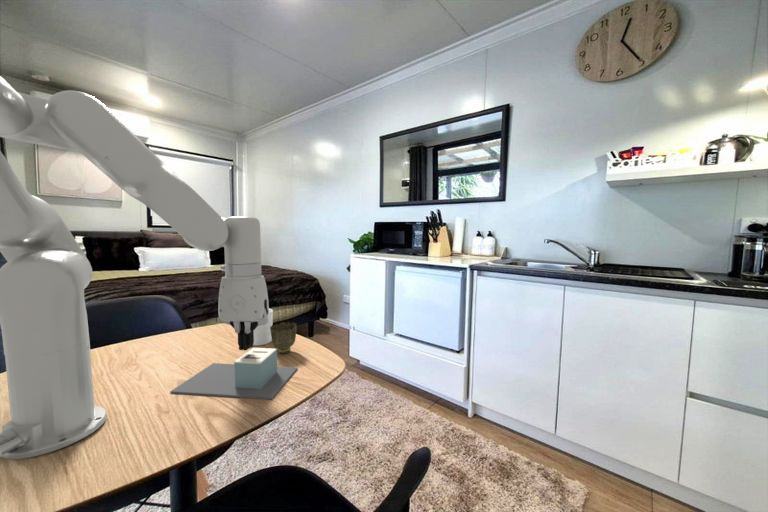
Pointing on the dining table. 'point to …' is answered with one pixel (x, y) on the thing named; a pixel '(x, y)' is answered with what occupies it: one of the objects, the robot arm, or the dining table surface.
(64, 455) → the dining table surface
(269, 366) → the teal block
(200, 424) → the dining table surface
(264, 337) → the white cup
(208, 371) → the rubber mat
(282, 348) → the cup
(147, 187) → the robot arm
